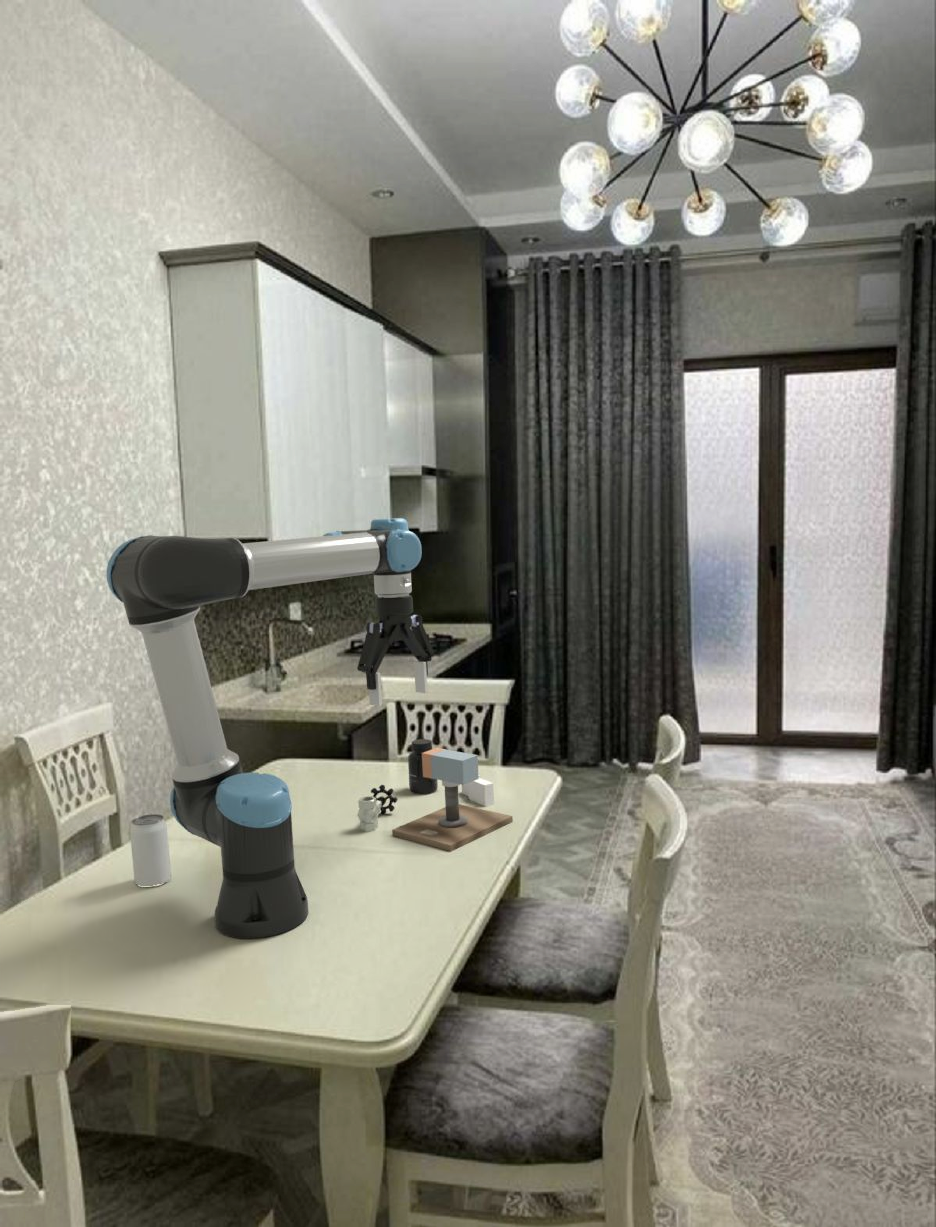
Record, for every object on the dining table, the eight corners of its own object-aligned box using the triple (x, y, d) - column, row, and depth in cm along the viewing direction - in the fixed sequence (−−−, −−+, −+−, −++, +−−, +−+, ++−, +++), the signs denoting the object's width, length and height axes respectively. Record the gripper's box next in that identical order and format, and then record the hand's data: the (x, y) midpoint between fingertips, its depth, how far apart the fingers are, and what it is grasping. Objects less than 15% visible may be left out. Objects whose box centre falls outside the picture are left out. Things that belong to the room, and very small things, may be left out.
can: (178, 875, 172) (173, 814, 170) (158, 890, 166) (152, 826, 164) (148, 873, 173) (143, 812, 172) (127, 887, 167) (121, 824, 166)
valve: (380, 833, 190) (398, 813, 202) (378, 802, 189) (396, 784, 201) (350, 831, 192) (370, 812, 203) (348, 801, 191) (368, 784, 202)
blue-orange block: (463, 791, 184) (462, 760, 183) (423, 783, 191) (421, 753, 190) (479, 785, 188) (477, 754, 187) (438, 777, 195) (437, 747, 194)
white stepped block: (501, 810, 202) (500, 785, 202) (451, 810, 203) (449, 786, 203) (504, 789, 217) (503, 765, 216) (457, 790, 218) (456, 766, 217)
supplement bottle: (405, 794, 215) (402, 744, 214) (415, 785, 222) (412, 737, 220) (432, 795, 213) (430, 745, 212) (442, 786, 220) (439, 738, 218)
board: (451, 851, 178) (448, 805, 177) (392, 835, 188) (389, 792, 187) (512, 821, 193) (510, 779, 192) (455, 808, 203) (453, 768, 202)
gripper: (362, 602, 172) (369, 712, 174) (447, 589, 191) (452, 688, 193) (335, 601, 176) (341, 708, 179) (421, 588, 196) (426, 685, 198)
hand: (399, 698), depth 186 cm, fingers open, 13 cm apart
